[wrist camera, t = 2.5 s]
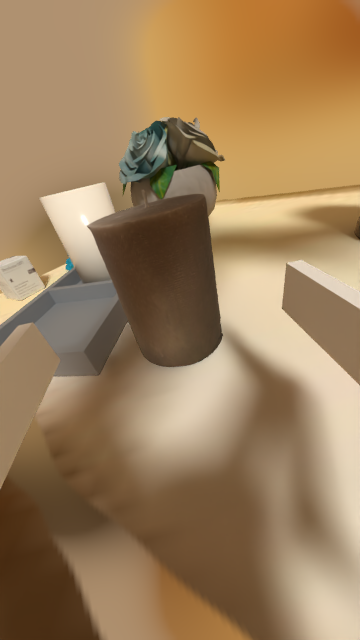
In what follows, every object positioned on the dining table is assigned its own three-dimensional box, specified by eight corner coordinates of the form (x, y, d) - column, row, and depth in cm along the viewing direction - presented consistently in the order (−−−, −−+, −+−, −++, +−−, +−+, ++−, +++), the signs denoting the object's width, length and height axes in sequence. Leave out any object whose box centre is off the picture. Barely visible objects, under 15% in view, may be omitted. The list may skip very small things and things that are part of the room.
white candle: (141, 264, 45) (114, 179, 36) (125, 287, 37) (86, 186, 28) (98, 270, 47) (63, 192, 38) (74, 293, 39) (24, 201, 30)
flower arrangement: (243, 234, 50) (239, 87, 36) (140, 261, 49) (95, 120, 35) (210, 217, 71) (200, 119, 57) (137, 236, 70) (108, 141, 56)
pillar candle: (241, 338, 23) (233, 168, 14) (160, 385, 20) (89, 207, 11) (192, 304, 30) (168, 180, 22) (128, 335, 27) (72, 205, 19)
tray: (158, 261, 47) (154, 245, 45) (98, 375, 22) (83, 351, 20) (94, 270, 50) (87, 256, 48) (-20, 378, 26) (-42, 358, 24)
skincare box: (20, 301, 44) (-5, 268, 40) (6, 298, 47) (-18, 267, 43) (46, 287, 48) (26, 255, 44) (32, 285, 51) (12, 255, 47)
